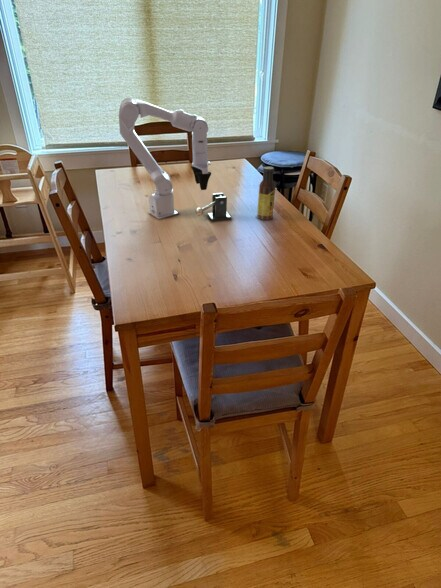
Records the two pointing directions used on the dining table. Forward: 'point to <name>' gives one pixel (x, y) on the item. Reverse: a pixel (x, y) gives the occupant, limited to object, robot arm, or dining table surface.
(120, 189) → the dining table surface
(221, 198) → the dark grey lever bracket
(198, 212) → the tap lever
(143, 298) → the dining table surface
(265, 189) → the sauce bottle
